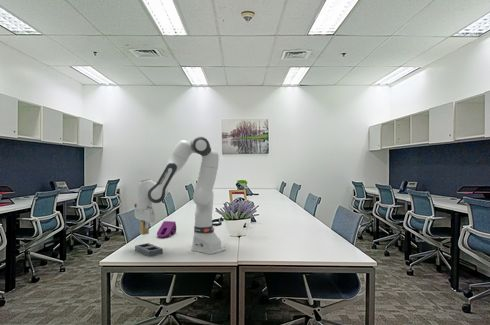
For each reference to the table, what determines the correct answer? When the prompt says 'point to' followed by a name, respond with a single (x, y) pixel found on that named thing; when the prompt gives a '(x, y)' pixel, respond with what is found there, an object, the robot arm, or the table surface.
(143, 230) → the bronze block
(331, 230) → the table surface
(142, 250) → the gray slotted block
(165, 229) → the mounting bracket
